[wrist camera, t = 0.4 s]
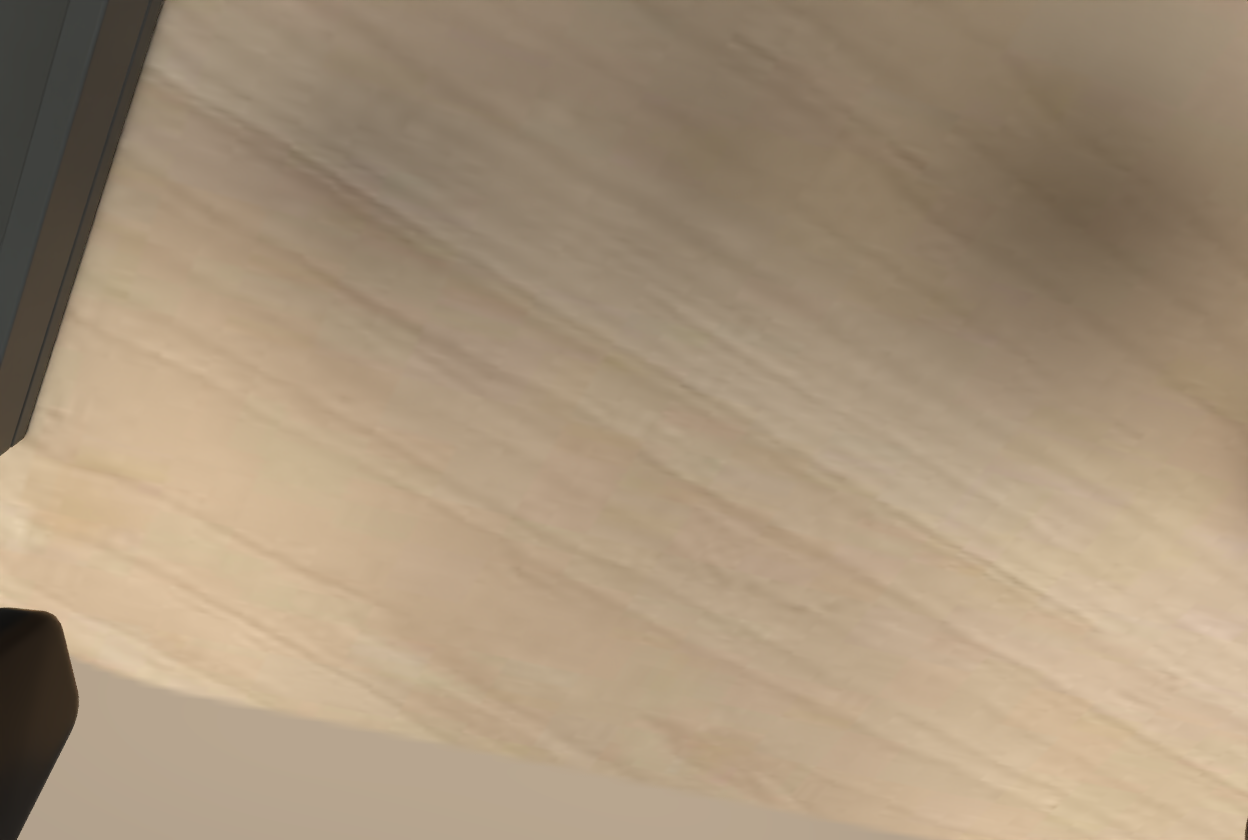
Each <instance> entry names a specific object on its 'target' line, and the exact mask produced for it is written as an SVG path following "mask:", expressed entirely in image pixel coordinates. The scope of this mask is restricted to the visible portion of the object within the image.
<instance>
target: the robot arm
mask: <svg viewBox="0 0 1248 840" xmlns="http://www.w3.org/2000/svg"><path fill="white" fill-rule="evenodd" d="M78 698H79V696H78V690H77V686H76V682H75V678H74V673H73V669H72V665H71V661H70V657H69V653H68V649H67V645H66V641H65V637H64V632H63V629H62V626H61V623H60V622H59V621H58V619H57V618H56V617H55V616H54V615H53V614H51V613H48V612H46V611H39V610H29V609H19V608H0V840H17V838H18V836H19V834H20V832H21V830H22V828H23V826H24V824H25V822H26V820H27V818H28V816H29V814H30V812H31V810H32V808H33V806H34V804H35V802H36V800H37V798H38V796H39V794H40V792H41V790H42V789H43V787H44V785H45V783H46V781H47V779H48V777H49V775H50V773H51V771H52V769H53V767H54V765H55V763H56V761H57V759H58V757H59V755H60V753H61V751H62V749H63V747H64V745H65V743H66V741H67V739H68V737H69V735H70V733H71V731H72V729H73V726H74V724H75V720H76V717H77V713H78V707H79V699H78ZM1245 840H1248V819H1247V823H1246V829H1245Z"/></svg>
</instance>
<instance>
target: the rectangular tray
mask: <svg viewBox="0 0 1248 840" xmlns="http://www.w3.org/2000/svg"><path fill="white" fill-rule="evenodd" d="M162 2H163V0H0V456H1V455H2V454H3V453H4V452H6V451H7V450H8V449H9V448H10V447H13V446H14V445H15V444H17V443H18V442H19V441H20V440H22V439H23V438H24V436H25V433H26V430H27V426H28V423H29V420H30V417H31V414H32V411H33V408H34V404H35V401H36V398H37V395H38V392H39V389H40V385H41V382H42V379H43V376H44V373H45V370H46V367H47V363H48V360H49V357H50V354H51V351H52V348H53V345H54V341H55V338H56V335H57V332H58V329H59V326H60V323H61V319H62V316H63V313H64V310H65V307H66V304H67V301H68V297H69V294H70V291H71V288H72V285H73V282H74V278H75V275H76V272H77V269H78V266H79V263H80V260H81V256H82V253H83V250H84V247H85V244H86V241H87V238H88V234H89V231H90V228H91V225H92V222H93V219H94V216H95V212H96V209H97V206H98V203H99V200H100V197H101V193H102V190H103V187H104V184H105V181H106V178H107V175H108V171H109V168H110V165H111V162H112V159H113V156H114V153H115V149H116V146H117V143H118V140H119V137H120V134H121V131H122V127H123V124H124V121H125V118H126V115H127V112H128V109H129V105H130V102H131V99H132V96H133V93H134V90H135V86H136V83H137V80H138V77H139V74H140V71H141V68H142V64H143V61H144V58H145V55H146V52H147V49H148V46H149V42H150V39H151V36H152V33H153V30H154V27H155V24H156V20H157V17H158V14H159V11H160V8H161V5H162Z"/></svg>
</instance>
